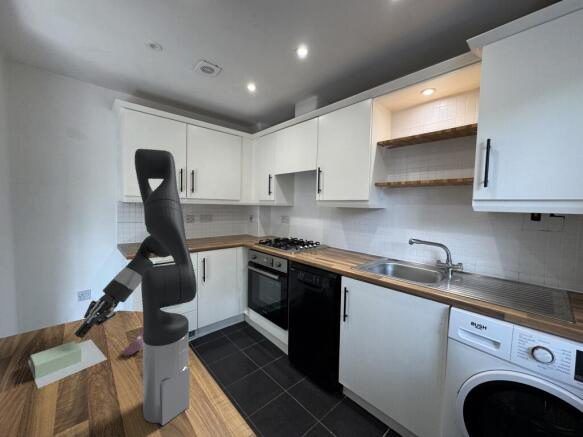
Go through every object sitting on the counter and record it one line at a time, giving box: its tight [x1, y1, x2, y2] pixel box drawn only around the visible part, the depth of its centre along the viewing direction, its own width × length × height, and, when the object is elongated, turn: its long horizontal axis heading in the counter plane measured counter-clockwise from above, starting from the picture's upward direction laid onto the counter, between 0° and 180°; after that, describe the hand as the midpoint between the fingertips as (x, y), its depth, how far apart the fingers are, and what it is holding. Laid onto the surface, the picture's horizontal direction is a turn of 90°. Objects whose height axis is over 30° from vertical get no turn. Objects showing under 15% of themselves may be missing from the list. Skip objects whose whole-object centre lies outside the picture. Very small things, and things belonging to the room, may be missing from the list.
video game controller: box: [122, 330, 143, 356], centre depth 75 cm, size 10×5×7 cm, turn 179°
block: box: [29, 340, 81, 380], centre depth 66 cm, size 7×4×9 cm
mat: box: [27, 339, 108, 389], centre depth 68 cm, size 16×14×1 cm
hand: (77, 336), depth 69 cm, fingers closed
